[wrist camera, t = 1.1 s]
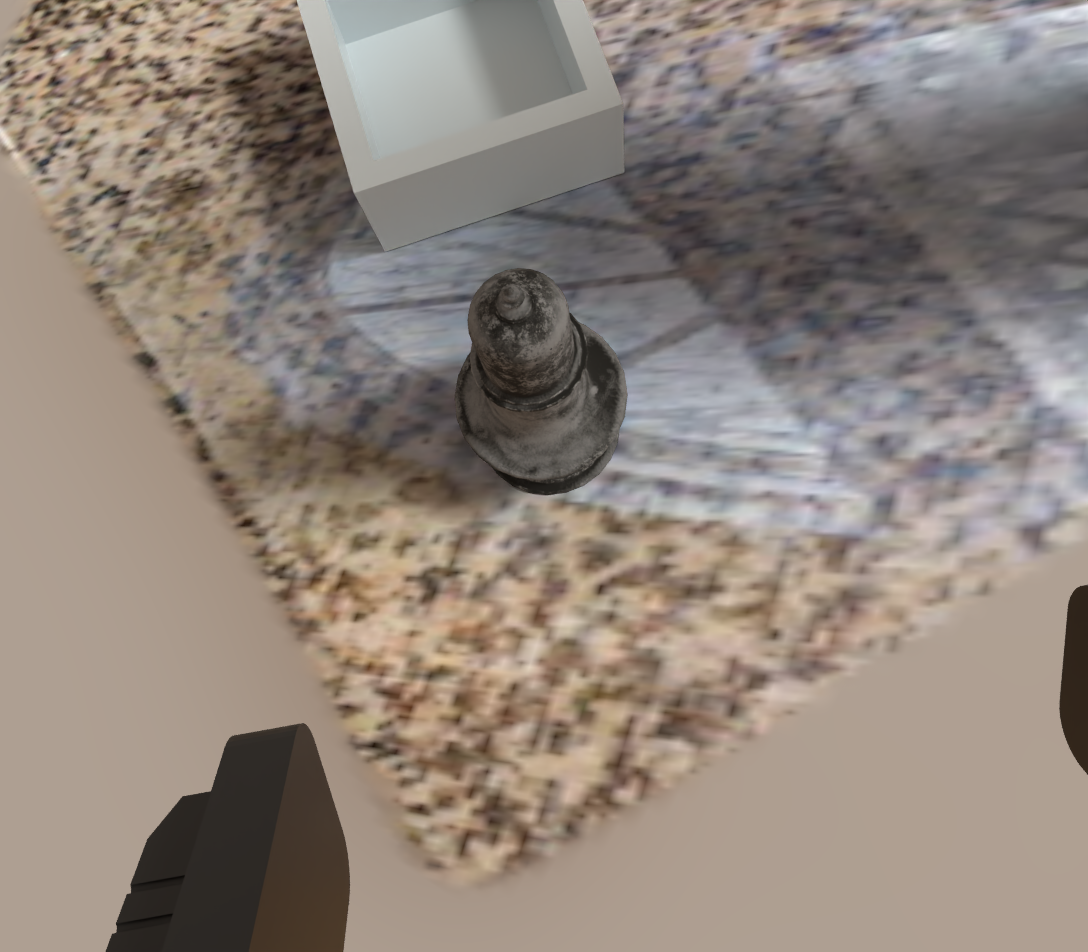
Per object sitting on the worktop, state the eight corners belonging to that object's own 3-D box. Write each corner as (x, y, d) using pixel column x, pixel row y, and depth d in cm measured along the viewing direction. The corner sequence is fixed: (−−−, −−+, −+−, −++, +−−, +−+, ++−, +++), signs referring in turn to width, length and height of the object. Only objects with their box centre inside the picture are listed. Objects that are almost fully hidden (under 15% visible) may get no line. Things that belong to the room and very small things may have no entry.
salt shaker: (441, 454, 37) (353, 332, 25) (522, 326, 38) (473, 151, 26) (577, 531, 36) (549, 440, 24) (656, 397, 37) (667, 246, 25)
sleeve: (548, -27, 42) (538, -114, 37) (624, 172, 39) (623, 103, 35) (323, 48, 42) (287, -30, 37) (385, 252, 39) (353, 192, 35)
